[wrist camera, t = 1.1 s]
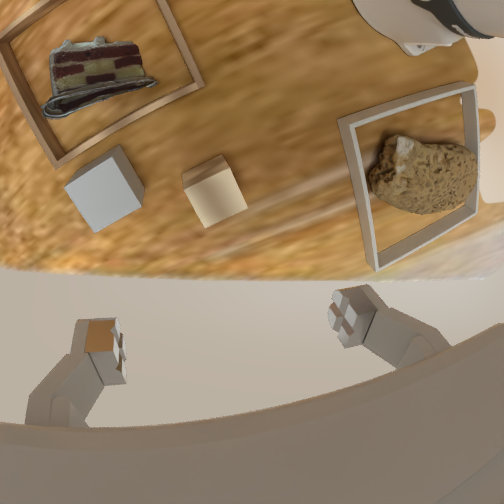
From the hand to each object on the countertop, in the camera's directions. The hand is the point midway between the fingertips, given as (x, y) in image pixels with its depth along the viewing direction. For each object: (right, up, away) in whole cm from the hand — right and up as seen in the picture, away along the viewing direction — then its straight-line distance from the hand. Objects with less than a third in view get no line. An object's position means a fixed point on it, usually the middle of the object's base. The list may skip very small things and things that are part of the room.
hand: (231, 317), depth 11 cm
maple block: (-4, +10, +24) cm, 27 cm away
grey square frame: (+26, +15, +31) cm, 43 cm away
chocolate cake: (-15, +21, +14) cm, 30 cm away
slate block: (-15, +10, +21) cm, 28 cm away
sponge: (+26, +15, +30) cm, 43 cm away
